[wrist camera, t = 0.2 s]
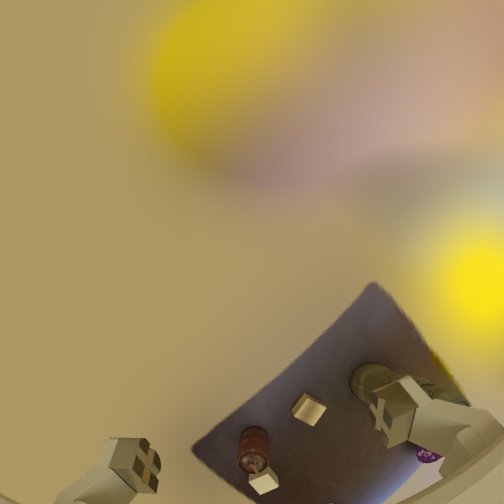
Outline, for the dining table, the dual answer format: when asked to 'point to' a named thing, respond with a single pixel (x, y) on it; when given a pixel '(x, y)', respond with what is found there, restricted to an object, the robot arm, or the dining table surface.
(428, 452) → the decorative mushroom
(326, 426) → the dining table surface
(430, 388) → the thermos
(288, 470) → the dining table surface
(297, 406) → the maple block
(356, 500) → the dining table surface
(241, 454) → the can
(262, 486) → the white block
